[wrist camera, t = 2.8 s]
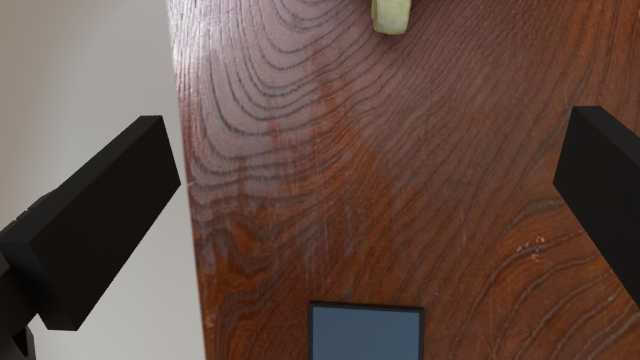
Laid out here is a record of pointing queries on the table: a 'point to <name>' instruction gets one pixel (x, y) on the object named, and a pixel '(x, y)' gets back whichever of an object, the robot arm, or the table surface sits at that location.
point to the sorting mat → (364, 332)
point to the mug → (390, 16)
